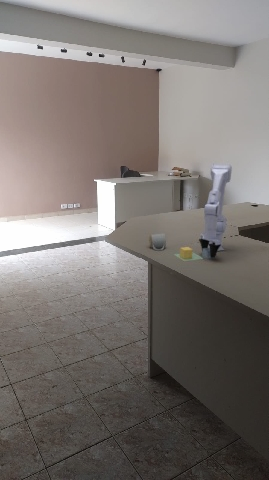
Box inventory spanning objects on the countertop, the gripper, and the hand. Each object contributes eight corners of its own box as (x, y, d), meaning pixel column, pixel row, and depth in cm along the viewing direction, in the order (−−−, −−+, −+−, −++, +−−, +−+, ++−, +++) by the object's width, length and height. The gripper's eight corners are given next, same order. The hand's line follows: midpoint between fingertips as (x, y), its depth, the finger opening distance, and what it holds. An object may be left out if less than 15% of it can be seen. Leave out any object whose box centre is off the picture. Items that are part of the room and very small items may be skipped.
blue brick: (202, 257, 182) (202, 248, 181) (210, 256, 184) (210, 247, 183) (206, 259, 178) (207, 251, 177) (214, 258, 180) (215, 250, 179)
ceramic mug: (148, 245, 200) (148, 232, 198) (163, 245, 201) (163, 232, 199) (151, 252, 190) (152, 237, 188) (167, 251, 191) (167, 237, 189)
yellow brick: (179, 256, 181) (180, 247, 180) (187, 255, 183) (188, 246, 182) (183, 259, 177) (184, 250, 176) (192, 258, 179) (192, 249, 178)
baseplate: (173, 255, 185) (173, 254, 185) (192, 252, 189) (192, 252, 188) (183, 261, 175) (183, 261, 175) (203, 259, 179) (203, 258, 178)
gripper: (195, 225, 182) (194, 251, 186) (211, 232, 169) (209, 260, 173) (208, 224, 185) (206, 250, 188) (224, 231, 172) (222, 258, 175)
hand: (208, 255), depth 181 cm, fingers open, 7 cm apart
